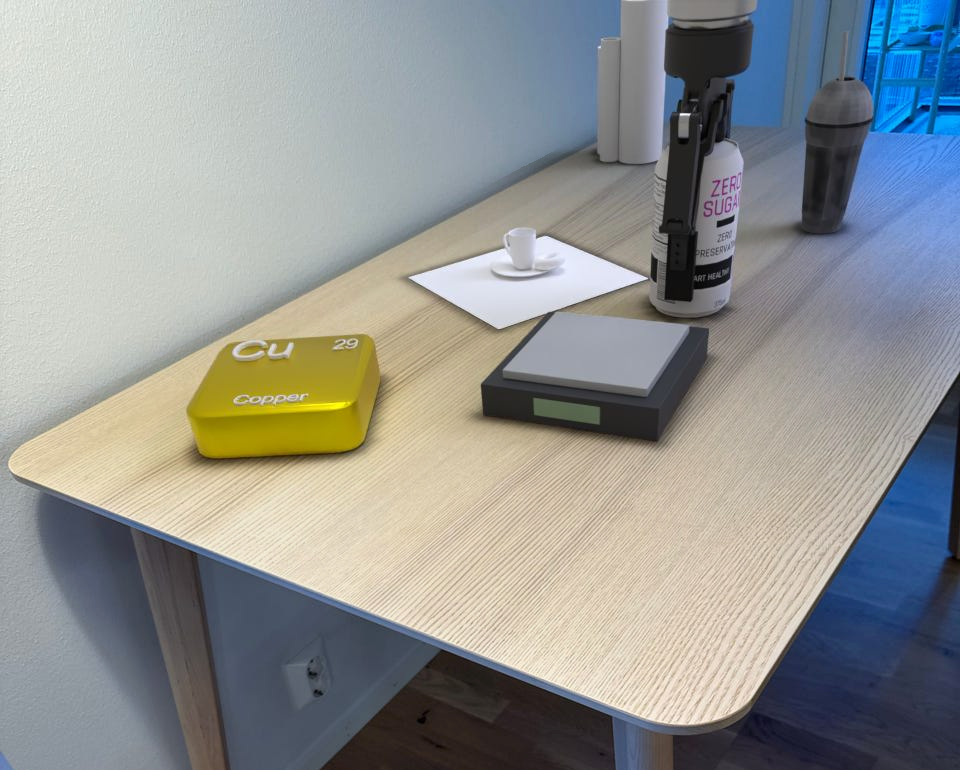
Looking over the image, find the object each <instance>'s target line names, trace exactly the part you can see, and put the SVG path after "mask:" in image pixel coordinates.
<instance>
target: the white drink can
mask: <svg viewBox="0 0 960 770" xmlns="http://www.w3.org/2000/svg"><path fill="white" fill-rule="evenodd" d="M669 147H670V142H668V143H666V144H664V145H663V146H662V154H661V156H660V158H659V160H657V161H656V164H655V166H654V182H653V183H654V185H653V203H652V204H653V207H652V226H651V227H652V229H651V248H650V249H651V253H650V256H651V257H650V271H649V272H650V274H649V299H648V300H649V301H650V303H651V305H653V306H654V307H655V308H656V310H657V311H658V312H660V313H661V314H663V315H666V316H671V317H675V318H683V319H691V318H700V317H706V316H710V315H713V314H715V313H718V312H719V311H720V310H721V309H722V308H723V307H724V306H725V305H727V303H728V302H729V301H730V297H731V289H732V280H733V279H732V278H733V268H734V260H735V252H736V251H735V250H736V240H737V229H738V221H739V210H740V203H741V193H742V192H741V191H742V182H743V172H744V159H743V156H742V154H741V151H740V149H739V143H738V142H737V141H736V140H733V139H731V138H730V139H726V138H724V140H723V141H722V142H720V143H714V149H713V152H712V153H711V154H710V155H708V156H706V157H704V164H703V170H702V175H701V186H700V199H699V207H698V213H697V219H696V225H695V226H696V230H695V231H698V239H697V252H696V265H695V278H694V291H693V300H692V301H691V302H685V301H674V300H664V297H665V279H666V261H667V244H668V234H662V233H659V226H661V225H662V220H663V209H664V199H665V188H666V178H667V167H668V157H669ZM676 220H681V219H676Z"/></svg>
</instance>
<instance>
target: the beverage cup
mask: <svg viewBox="0 0 960 770" xmlns="http://www.w3.org/2000/svg"><path fill="white" fill-rule="evenodd" d="M848 41H849V30H843V32H842V42H841V52H840V53H841V54H840V61H839V62H840V63H839V73H838V74H839V75H838V77H834V78H833V79H831V80H829V81H828V82H826V83H825V84H823V85H822V86H821V87H820V88H819V89H818V90H817V92H816V93H815V94H814V96H813V98H811V100H810V103H809V106H808V109H807V112H806V116H805V117H804V123H805V126H804V133H805V134H804V137H805V138H804V139H805V154H804V171H803V185H802V187H803V188H802V199H801V200H802V203H801V226H800V227H801V229H802V230H803V231H804V232H807V233H810V234H811V233H812V234H831V233H836V232H838V231H839V230H841V228H842V224H843V221H844V217H845V214H846V212H847V208H848V204H849V200H850V196H851V193H852V189H853V185H854V181H855V178H856V174H857V170H858V166H859V162H860V159H861V155H862V151H863V147H864V144H865V141H866V140H867V137H868V134H869V132H870V129H871V124H872V123H873V121H874V102H873V97H872V93H871V91H870V89H869V88H868V86H867V85H866V83H864V82H863V81H862V80H860V79H859V78H857V77H854V76H845V72H846V64H847V63H846V60H847V51H848Z"/></svg>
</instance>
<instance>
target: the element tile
mask: <svg viewBox="0 0 960 770" xmlns="http://www.w3.org/2000/svg"><path fill="white" fill-rule="evenodd" d="M376 348H377V347H376V343H375V340H374V339H373V337H371V336H370V335H368V334H365V333H356V334H342V335H339V334H338V335H325V336H307V337H291V338H290V337H289V338H276V339H274V338H273V339H259V340H258V339H256V340H255V339H254V340H246V341H245V340H242V341H233V342H230V343H227V344H226V345H225V346H224V347H222V348H221V349H220V351H218V353H217V355H216V356H215V358H214V360H213V361H212V363H211V365H210V367H209V368H208V369H207V372H206V373H205V375H204V377H203V378H202V380H201V382H200V384H199V385H198V387H197V389H196V390H195V392H194V394H193V396H191V399H190V401H189V402H188V404H187V405H186V409H185V413H186V416H187V419H188V423H189V425H190V428H191V432H192V434H193V437H194V440H195V443H196V446H197V449H198V452H199V454H200V455H202V457H205V458H209V459H217V460H219V459H221V460H222V459H237V458H238V459H239V458H240V459H241V458H257V457H258V458H259V457H276V456H277V457H278V456H296V455H297V456H298V455H299V456H300V455H317V454H336V453H344V452H348V451H352V450H354V449H356V448H359V447H360V445H362V443H363V442H364V441H365V439H366V436H367V432H368V428H369V425H370V421H371V417H372V414H373V410H374V406H375V404H376V403H375V402H376V399H377V395H378V391H379V388H380V384H381V379H382V378H381V373H380V366H379V360H378V354H377V349H376Z"/></svg>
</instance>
